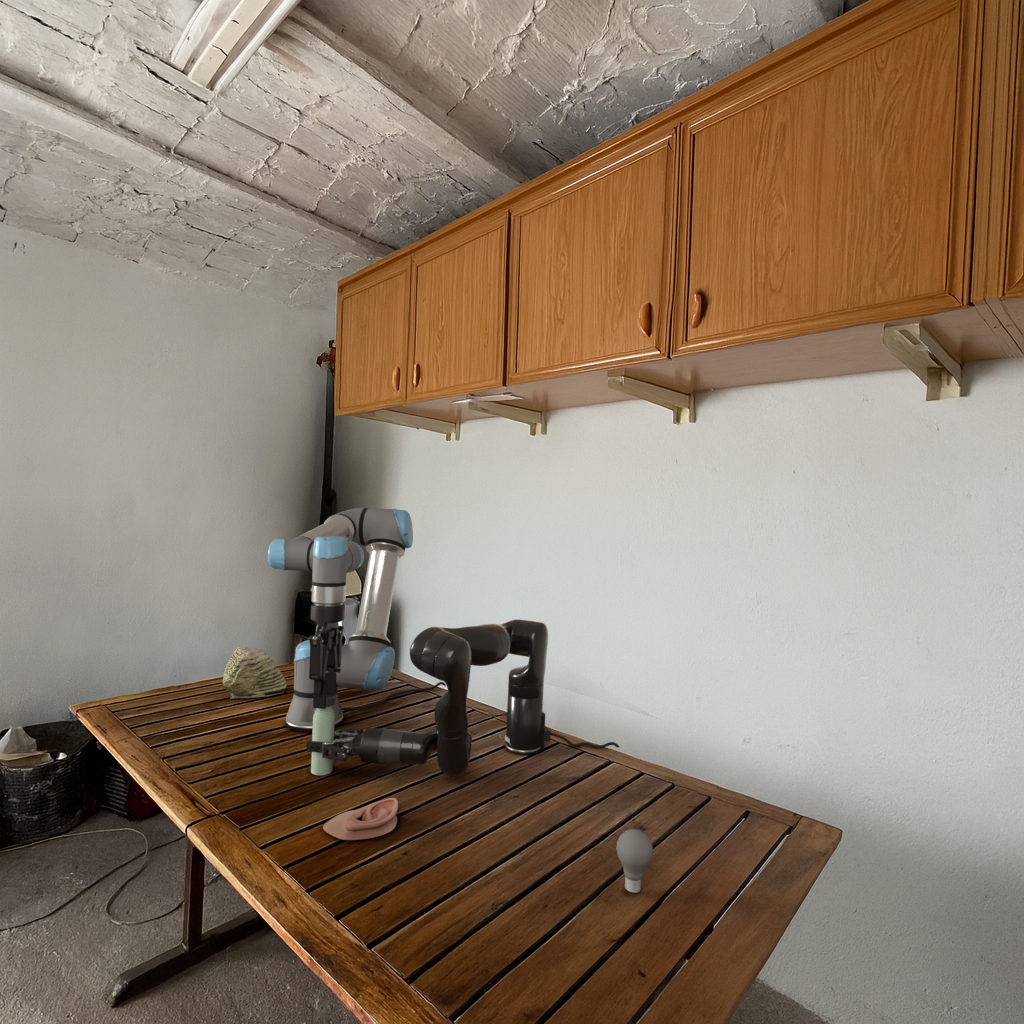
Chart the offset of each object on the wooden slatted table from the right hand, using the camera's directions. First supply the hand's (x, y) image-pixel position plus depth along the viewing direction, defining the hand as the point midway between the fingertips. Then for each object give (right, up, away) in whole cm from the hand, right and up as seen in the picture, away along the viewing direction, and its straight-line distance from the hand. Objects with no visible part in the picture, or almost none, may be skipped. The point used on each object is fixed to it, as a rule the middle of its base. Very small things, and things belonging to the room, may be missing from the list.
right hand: (311, 741), depth 146 cm
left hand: (+3, +9, 0) cm, 9 cm away
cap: (+3, +10, 0) cm, 11 cm away
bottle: (+2, -7, 0) cm, 7 cm away
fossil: (-34, -4, +52) cm, 62 cm away
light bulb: (+66, -10, -40) cm, 78 cm away
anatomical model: (+17, -8, -24) cm, 30 cm away
